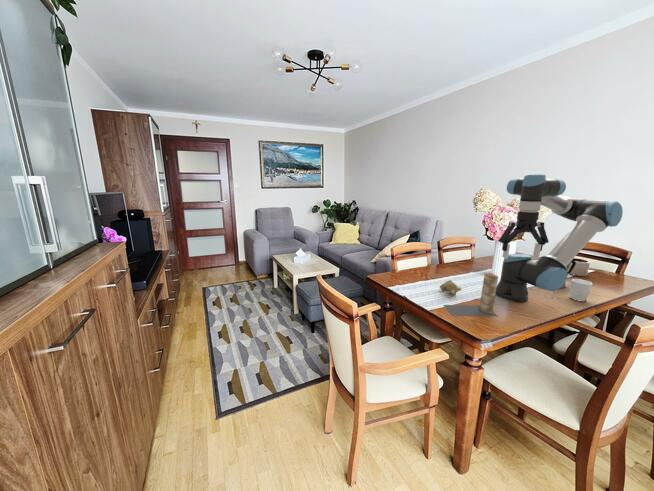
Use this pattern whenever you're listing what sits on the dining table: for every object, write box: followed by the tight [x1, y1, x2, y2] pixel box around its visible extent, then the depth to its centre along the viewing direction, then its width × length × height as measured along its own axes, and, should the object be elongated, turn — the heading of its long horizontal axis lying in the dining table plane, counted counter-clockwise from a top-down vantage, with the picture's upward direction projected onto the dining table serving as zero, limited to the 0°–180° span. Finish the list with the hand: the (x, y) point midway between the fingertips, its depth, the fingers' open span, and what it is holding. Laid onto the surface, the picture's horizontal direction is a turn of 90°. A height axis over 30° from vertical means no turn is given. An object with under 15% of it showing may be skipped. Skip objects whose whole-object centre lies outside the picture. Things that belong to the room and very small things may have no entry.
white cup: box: [568, 278, 593, 301], centre depth 143 cm, size 8×8×10 cm
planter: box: [567, 257, 591, 277], centre depth 182 cm, size 11×11×10 cm
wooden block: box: [479, 273, 499, 313], centre depth 129 cm, size 4×4×18 cm
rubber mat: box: [443, 304, 499, 317], centre depth 131 cm, size 21×11×1 cm, turn 89°
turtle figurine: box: [439, 279, 462, 295], centre depth 149 cm, size 8×7×12 cm
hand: (520, 258), depth 124 cm, fingers open, 13 cm apart
